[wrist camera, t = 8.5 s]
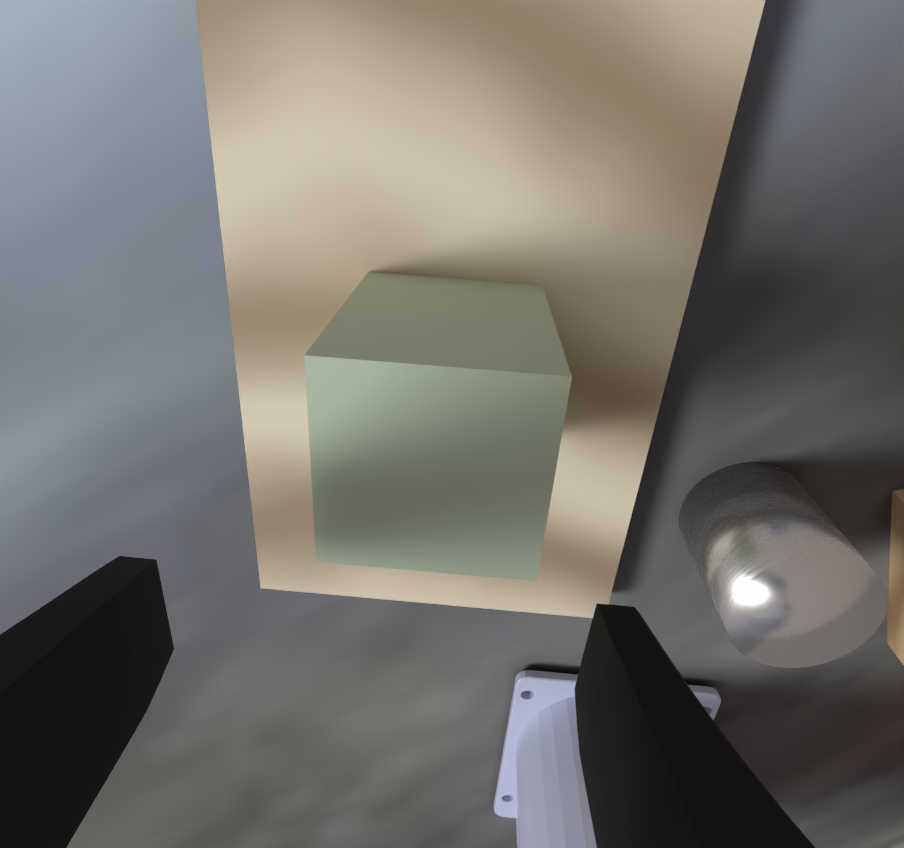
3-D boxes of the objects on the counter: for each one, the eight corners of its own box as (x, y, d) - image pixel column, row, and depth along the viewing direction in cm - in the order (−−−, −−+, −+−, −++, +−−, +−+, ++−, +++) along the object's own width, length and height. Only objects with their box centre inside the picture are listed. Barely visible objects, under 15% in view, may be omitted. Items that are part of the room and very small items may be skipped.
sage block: (521, 437, 17) (536, 581, 12) (368, 425, 17) (316, 561, 12) (542, 285, 15) (571, 376, 10) (368, 271, 15) (303, 355, 10)
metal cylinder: (781, 565, 20) (852, 674, 16) (666, 555, 20) (709, 661, 17) (823, 467, 19) (914, 564, 15) (696, 457, 19) (753, 550, 15)
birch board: (598, 594, 21) (604, 618, 20) (272, 564, 22) (260, 588, 21) (748, -14, 13) (771, -25, 12) (212, -53, 13) (188, -68, 12)
